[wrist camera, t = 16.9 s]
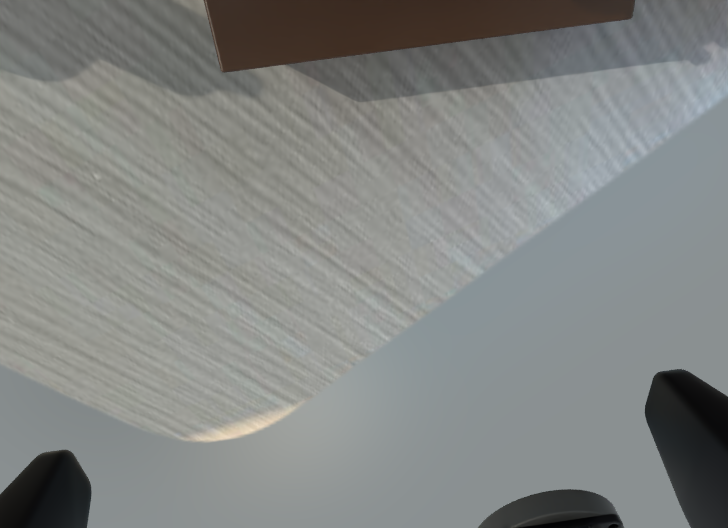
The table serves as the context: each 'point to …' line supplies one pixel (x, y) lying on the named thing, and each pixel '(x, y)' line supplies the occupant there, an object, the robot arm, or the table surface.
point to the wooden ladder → (381, 25)
